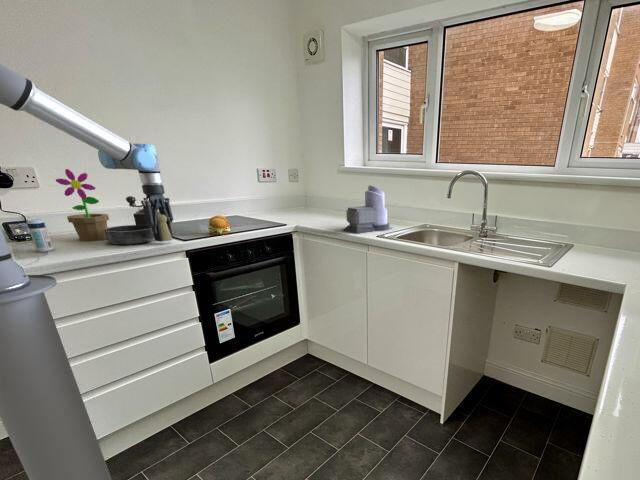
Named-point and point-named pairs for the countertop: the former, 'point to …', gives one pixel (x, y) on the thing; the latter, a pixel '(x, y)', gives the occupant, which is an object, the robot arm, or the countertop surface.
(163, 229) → the cork
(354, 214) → the juicer
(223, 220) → the cheeseburger
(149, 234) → the dark grey shallow bowl
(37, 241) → the white cylindrical container
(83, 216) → the flowerpot
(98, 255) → the countertop surface
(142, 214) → the brown coffee grinder
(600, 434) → the countertop surface
